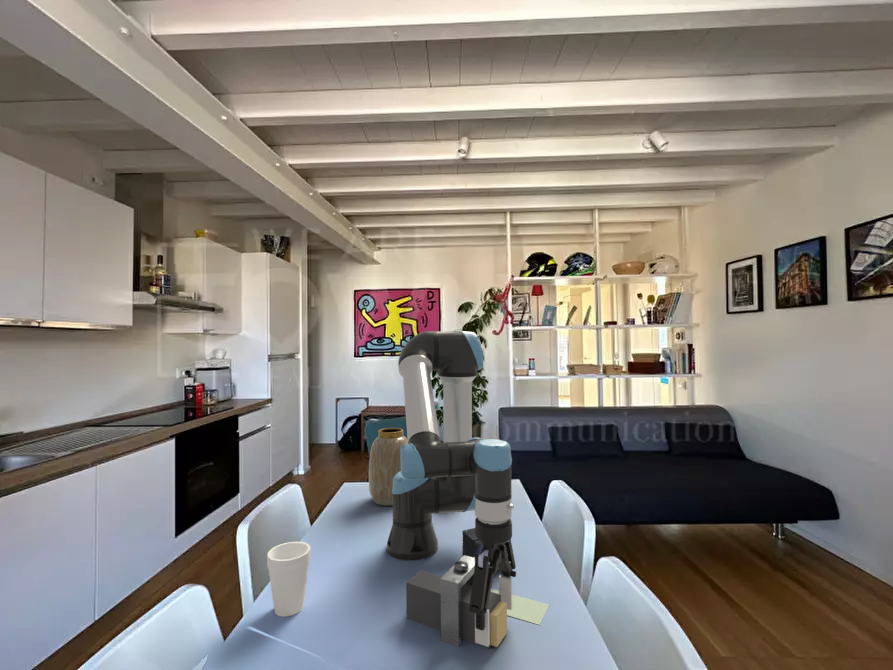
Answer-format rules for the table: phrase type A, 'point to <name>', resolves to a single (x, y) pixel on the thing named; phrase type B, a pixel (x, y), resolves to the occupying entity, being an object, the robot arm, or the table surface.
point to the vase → (385, 464)
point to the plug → (427, 608)
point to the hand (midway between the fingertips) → (494, 624)
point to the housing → (454, 598)
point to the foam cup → (289, 576)
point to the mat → (526, 609)
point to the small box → (472, 544)
